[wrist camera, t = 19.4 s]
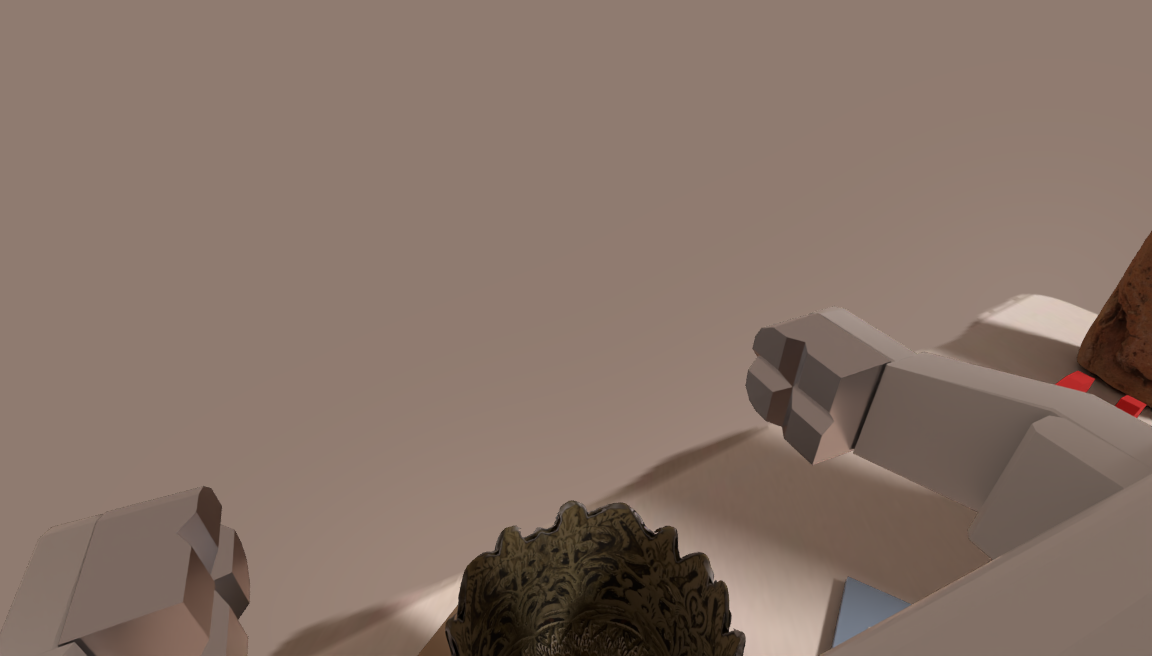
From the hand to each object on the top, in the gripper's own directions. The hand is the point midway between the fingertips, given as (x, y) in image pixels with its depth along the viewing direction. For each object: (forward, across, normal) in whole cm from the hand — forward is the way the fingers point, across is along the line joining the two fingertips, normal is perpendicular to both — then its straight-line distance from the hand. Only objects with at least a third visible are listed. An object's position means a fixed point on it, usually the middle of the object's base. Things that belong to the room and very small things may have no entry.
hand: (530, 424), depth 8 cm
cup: (+1, -1, +16) cm, 16 cm away
